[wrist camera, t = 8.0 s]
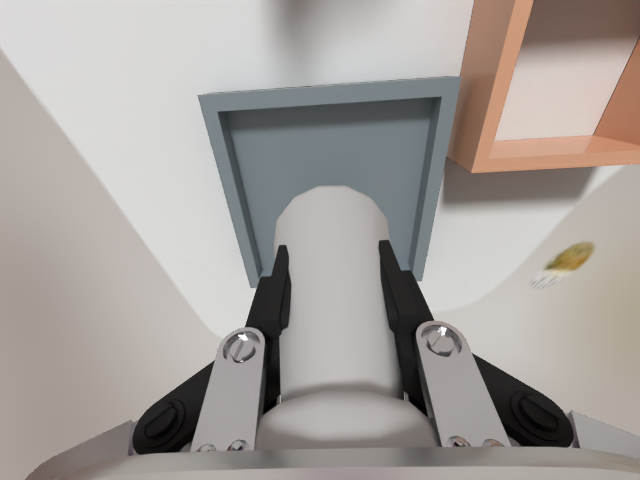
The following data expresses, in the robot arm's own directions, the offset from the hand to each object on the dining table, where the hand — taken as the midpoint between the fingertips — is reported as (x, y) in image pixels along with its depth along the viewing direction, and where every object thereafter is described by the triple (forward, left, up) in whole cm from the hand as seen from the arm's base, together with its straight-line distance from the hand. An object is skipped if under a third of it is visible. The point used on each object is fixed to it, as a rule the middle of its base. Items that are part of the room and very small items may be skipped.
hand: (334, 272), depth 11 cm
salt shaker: (0, 0, -5) cm, 5 cm away
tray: (0, 0, -8) cm, 8 cm away
